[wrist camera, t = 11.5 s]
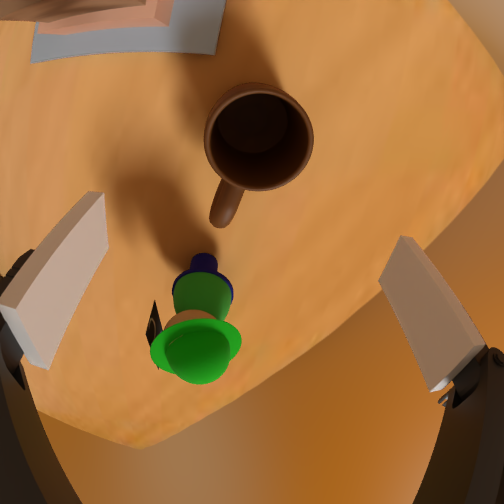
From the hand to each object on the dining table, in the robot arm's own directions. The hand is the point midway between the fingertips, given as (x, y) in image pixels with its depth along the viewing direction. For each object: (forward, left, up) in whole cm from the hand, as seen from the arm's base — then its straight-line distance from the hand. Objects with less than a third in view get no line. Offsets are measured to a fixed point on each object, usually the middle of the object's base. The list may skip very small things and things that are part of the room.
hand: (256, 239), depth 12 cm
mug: (0, 0, -18) cm, 18 cm away
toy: (-2, -17, -18) cm, 25 cm away
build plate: (-14, +16, -18) cm, 28 cm away
